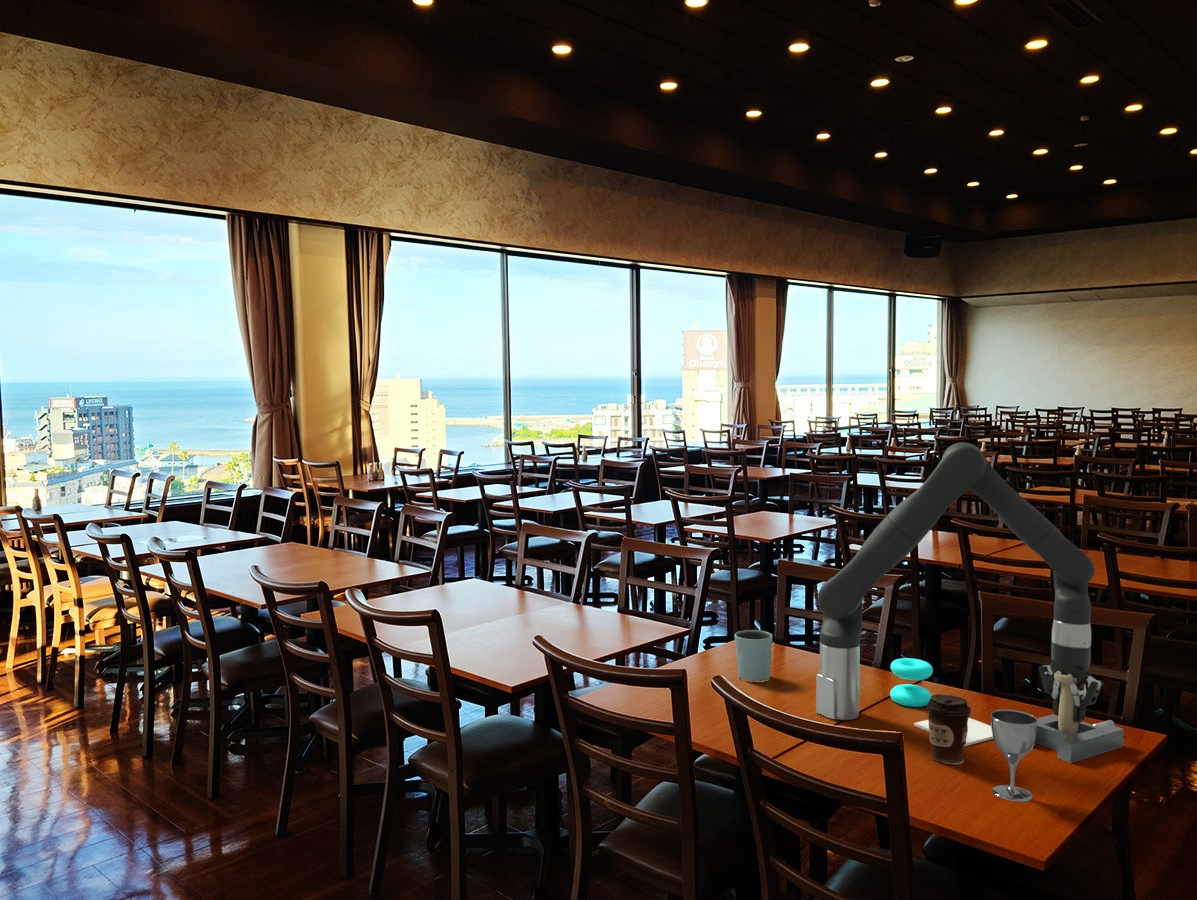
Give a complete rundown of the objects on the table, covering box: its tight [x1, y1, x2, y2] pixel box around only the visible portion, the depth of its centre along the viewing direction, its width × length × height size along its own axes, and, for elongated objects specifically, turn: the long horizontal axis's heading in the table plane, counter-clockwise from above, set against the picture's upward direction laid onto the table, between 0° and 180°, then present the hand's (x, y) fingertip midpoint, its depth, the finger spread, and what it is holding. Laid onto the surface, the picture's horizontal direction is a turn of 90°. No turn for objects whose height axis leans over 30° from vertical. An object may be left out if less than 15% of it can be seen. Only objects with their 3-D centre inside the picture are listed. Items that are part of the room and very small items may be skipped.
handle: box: [1053, 673, 1079, 735], centre depth 191 cm, size 5×6×15 cm
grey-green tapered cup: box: [734, 629, 773, 681], centre depth 238 cm, size 10×10×12 cm
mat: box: [913, 717, 993, 747], centre depth 200 cm, size 14×14×1 cm
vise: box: [1034, 713, 1125, 764], centre depth 193 cm, size 24×13×4 cm, turn 118°
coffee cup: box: [926, 693, 972, 766], centre depth 183 cm, size 9×8×13 cm
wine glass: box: [990, 708, 1037, 803], centre depth 167 cm, size 8×8×15 cm
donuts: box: [889, 657, 934, 708], centre depth 219 cm, size 10×10×10 cm
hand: (1068, 718), depth 191 cm, fingers closed on handle, 4 cm apart
